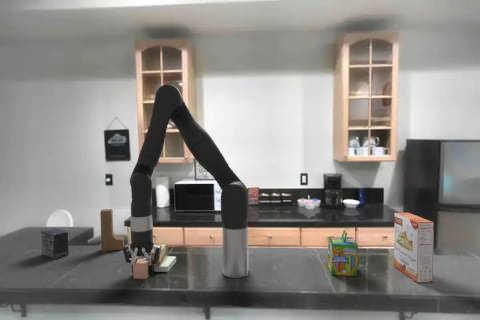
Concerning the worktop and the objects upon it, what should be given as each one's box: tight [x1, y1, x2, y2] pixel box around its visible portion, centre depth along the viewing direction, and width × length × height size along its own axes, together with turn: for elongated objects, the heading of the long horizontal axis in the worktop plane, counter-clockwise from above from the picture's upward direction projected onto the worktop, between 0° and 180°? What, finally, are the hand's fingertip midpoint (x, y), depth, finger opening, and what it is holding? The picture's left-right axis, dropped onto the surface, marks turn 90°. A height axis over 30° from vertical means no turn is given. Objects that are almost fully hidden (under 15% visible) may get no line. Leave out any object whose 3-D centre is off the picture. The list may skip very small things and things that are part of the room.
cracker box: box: [393, 212, 435, 283], centre depth 107 cm, size 14×6×21 cm, turn 3°
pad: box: [143, 255, 177, 273], centre depth 116 cm, size 12×11×2 cm
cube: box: [132, 258, 151, 280], centre depth 108 cm, size 5×5×5 cm
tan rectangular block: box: [151, 243, 167, 266], centre depth 115 cm, size 5×9×5 cm, turn 179°
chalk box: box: [327, 230, 359, 277], centre depth 110 cm, size 9×9×15 cm
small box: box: [40, 228, 70, 260], centre depth 128 cm, size 11×6×10 cm, turn 58°
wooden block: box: [99, 208, 125, 252], centre depth 135 cm, size 9×4×18 cm, turn 106°
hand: (142, 273), depth 108 cm, fingers closed on cube, 5 cm apart
